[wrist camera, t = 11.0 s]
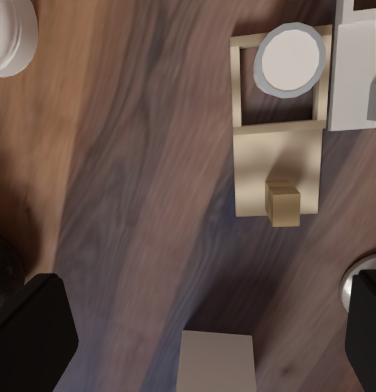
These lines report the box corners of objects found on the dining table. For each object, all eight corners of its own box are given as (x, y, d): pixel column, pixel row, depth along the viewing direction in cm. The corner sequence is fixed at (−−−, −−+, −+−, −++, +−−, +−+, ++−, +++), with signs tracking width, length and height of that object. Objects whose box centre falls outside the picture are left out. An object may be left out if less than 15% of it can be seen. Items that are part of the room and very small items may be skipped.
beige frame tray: (314, 210, 38) (334, 232, 32) (235, 213, 40) (239, 235, 33) (325, 29, 31) (353, 8, 25) (229, 41, 33) (231, 25, 26)
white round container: (268, 27, 32) (280, 7, 25) (317, 57, 32) (342, 44, 26) (237, 82, 34) (241, 77, 28) (283, 109, 35) (298, 110, 28)
